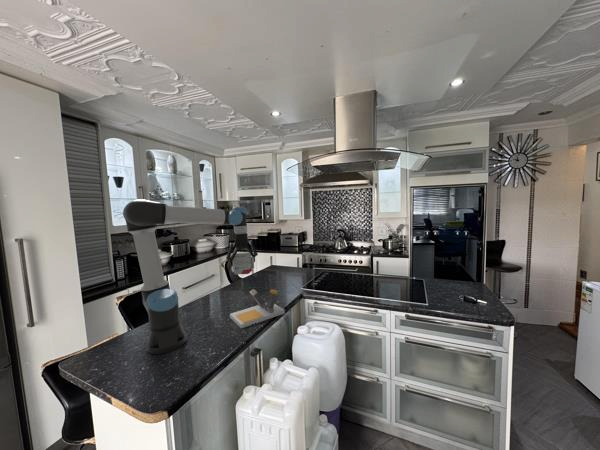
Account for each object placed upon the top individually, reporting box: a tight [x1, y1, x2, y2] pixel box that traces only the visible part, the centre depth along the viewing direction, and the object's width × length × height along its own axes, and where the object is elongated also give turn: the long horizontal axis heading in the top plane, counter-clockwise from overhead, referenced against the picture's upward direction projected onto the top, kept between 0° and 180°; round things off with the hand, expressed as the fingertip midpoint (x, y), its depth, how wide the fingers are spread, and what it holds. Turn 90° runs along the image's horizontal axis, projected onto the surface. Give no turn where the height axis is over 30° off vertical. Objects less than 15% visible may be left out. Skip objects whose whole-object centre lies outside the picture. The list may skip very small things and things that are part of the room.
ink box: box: [233, 251, 253, 275], centre depth 145 cm, size 9×9×12 cm
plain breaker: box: [249, 288, 265, 306], centre depth 139 cm, size 3×4×11 cm
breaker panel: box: [229, 302, 286, 329], centre depth 133 cm, size 25×16×4 cm, turn 125°
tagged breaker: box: [266, 288, 278, 310], centre depth 134 cm, size 3×4×11 cm, turn 35°
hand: (243, 269), depth 145 cm, fingers closed on ink box, 11 cm apart
